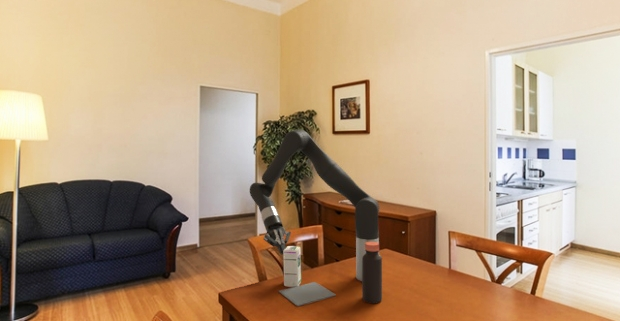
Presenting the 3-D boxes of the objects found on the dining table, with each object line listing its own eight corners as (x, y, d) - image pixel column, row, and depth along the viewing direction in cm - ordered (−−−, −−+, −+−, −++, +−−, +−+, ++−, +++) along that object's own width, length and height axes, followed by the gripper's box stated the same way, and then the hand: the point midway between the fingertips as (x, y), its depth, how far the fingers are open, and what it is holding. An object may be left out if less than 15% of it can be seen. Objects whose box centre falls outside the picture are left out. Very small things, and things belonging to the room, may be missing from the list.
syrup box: (298, 287, 130) (297, 250, 129) (283, 286, 131) (283, 249, 130) (301, 281, 135) (301, 246, 135) (287, 280, 136) (287, 245, 136)
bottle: (370, 305, 114) (370, 247, 114) (358, 297, 120) (358, 242, 120) (385, 301, 117) (385, 244, 117) (373, 294, 123) (373, 240, 123)
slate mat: (314, 283, 134) (314, 281, 134) (335, 295, 122) (335, 294, 122) (278, 292, 125) (278, 290, 125) (297, 306, 113) (297, 305, 113)
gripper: (259, 215, 143) (272, 251, 133) (287, 212, 150) (301, 246, 140) (255, 225, 148) (266, 260, 138) (281, 222, 155) (294, 255, 145)
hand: (284, 253), depth 139 cm, fingers closed
